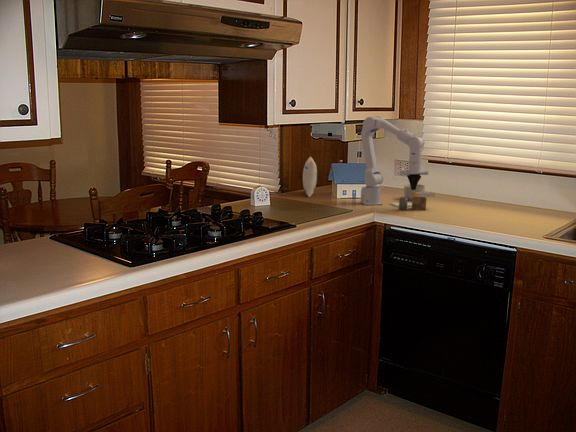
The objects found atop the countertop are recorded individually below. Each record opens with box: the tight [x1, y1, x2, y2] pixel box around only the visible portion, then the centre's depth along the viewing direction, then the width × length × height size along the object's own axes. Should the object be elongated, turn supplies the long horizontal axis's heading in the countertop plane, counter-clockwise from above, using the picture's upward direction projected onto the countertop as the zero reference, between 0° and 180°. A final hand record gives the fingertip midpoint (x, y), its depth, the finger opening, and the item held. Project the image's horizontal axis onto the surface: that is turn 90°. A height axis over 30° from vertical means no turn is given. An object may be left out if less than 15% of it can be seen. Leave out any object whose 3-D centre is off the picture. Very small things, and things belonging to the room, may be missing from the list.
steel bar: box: [414, 191, 436, 198], centre depth 292 cm, size 10×3×2 cm, turn 105°
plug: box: [398, 196, 409, 212], centre depth 290 cm, size 4×4×6 cm
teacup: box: [403, 183, 426, 202], centre depth 318 cm, size 14×11×8 cm
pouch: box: [302, 155, 318, 198], centre depth 325 cm, size 8×19×20 cm, turn 176°
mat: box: [390, 201, 412, 208], centre depth 302 cm, size 10×8×1 cm
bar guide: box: [411, 196, 428, 211], centre depth 292 cm, size 5×5×6 cm
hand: (413, 189), depth 290 cm, fingers closed
